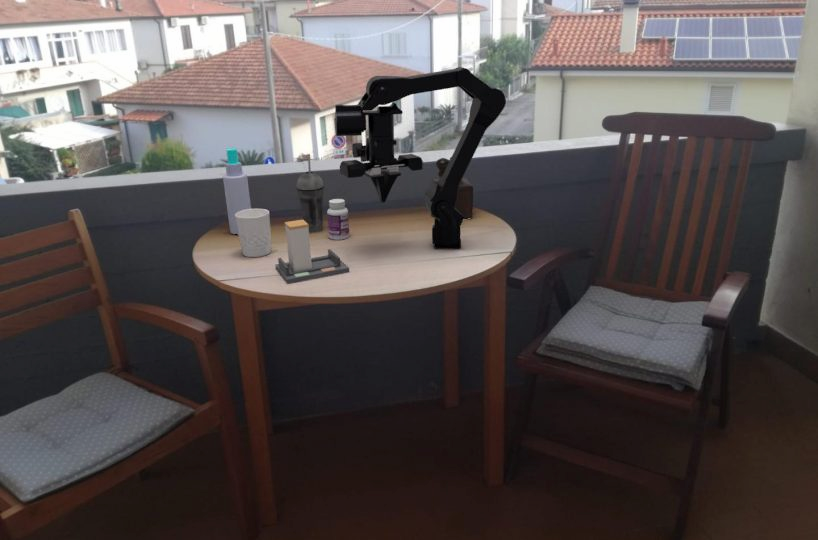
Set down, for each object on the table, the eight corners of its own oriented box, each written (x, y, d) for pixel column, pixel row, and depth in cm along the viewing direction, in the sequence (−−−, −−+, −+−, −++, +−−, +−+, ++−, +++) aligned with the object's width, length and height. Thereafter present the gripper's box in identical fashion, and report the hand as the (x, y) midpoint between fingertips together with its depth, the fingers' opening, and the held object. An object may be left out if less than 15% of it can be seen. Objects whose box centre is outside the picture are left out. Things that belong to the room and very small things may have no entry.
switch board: (334, 258, 148) (333, 246, 147) (349, 271, 139) (348, 259, 138) (275, 268, 142) (274, 256, 141) (287, 283, 134) (286, 270, 133)
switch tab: (306, 262, 142) (302, 219, 138) (312, 268, 138) (308, 224, 135) (289, 266, 140) (284, 222, 136) (294, 272, 137) (289, 227, 133)
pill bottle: (346, 240, 159) (343, 203, 156) (326, 239, 160) (323, 203, 157) (352, 234, 164) (350, 198, 160) (332, 233, 165) (330, 197, 161)
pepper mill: (428, 211, 182) (427, 149, 175) (465, 209, 183) (466, 147, 176) (436, 227, 168) (436, 160, 161) (477, 224, 169) (478, 158, 162)
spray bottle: (249, 235, 165) (238, 151, 157) (227, 235, 166) (215, 151, 157) (256, 228, 170) (247, 147, 162) (235, 228, 171) (224, 147, 163)
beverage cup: (296, 233, 165) (289, 158, 158) (304, 225, 172) (297, 152, 165) (323, 234, 164) (317, 158, 157) (330, 225, 171) (324, 152, 164)
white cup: (278, 248, 155) (274, 209, 152) (265, 259, 148) (260, 218, 144) (249, 246, 157) (244, 207, 153) (234, 257, 150) (229, 217, 146)
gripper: (402, 126, 152) (403, 189, 158) (329, 132, 144) (333, 198, 150) (424, 133, 143) (424, 200, 148) (347, 140, 135) (350, 210, 141)
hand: (382, 201), depth 147 cm, fingers closed
